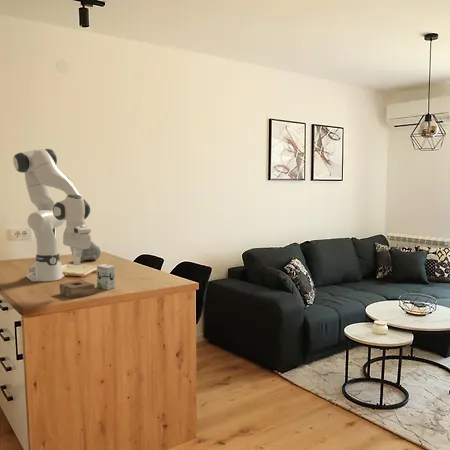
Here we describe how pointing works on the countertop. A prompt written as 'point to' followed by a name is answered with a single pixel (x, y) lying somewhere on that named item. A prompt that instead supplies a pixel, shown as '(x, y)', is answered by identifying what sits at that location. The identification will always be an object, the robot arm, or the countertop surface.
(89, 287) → the bore block
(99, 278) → the ink box
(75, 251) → the pin
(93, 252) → the decorative stone
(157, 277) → the countertop surface
